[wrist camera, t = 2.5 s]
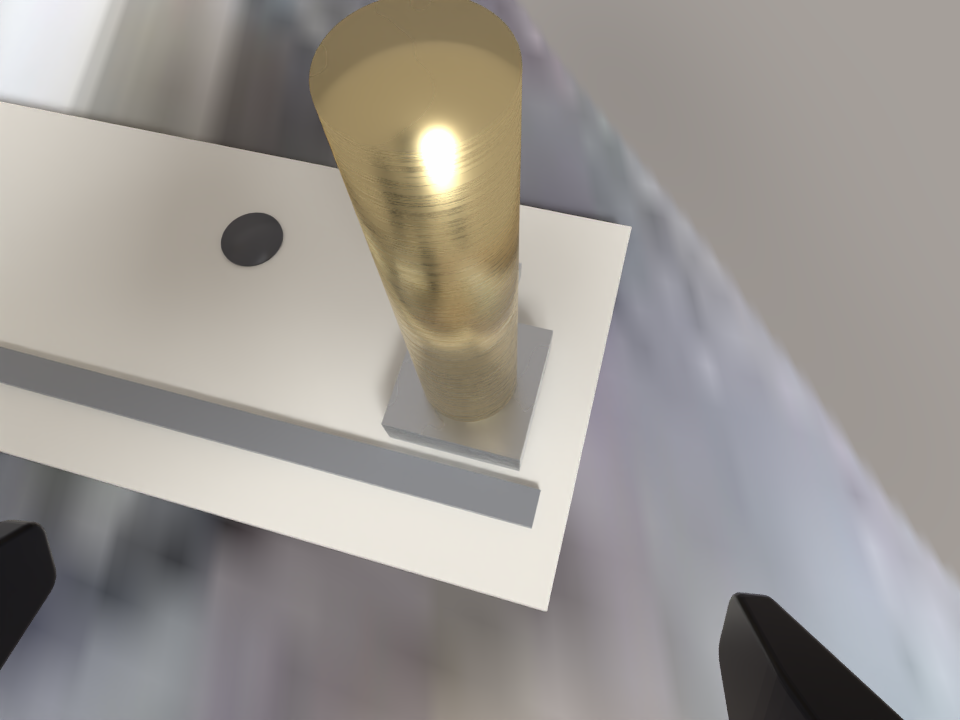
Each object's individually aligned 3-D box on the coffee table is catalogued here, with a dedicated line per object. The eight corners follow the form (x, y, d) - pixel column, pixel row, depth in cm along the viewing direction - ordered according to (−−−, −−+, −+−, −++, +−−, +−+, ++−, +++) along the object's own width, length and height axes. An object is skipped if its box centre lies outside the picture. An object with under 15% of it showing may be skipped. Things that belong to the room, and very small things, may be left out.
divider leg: (519, 471, 20) (530, 227, 8) (389, 437, 21) (208, 161, 8) (564, 294, 23) (628, -110, 10) (447, 268, 23) (371, -141, 11)
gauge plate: (544, 611, 20) (618, 584, 6) (-258, 375, 25) (-1248, 58, 11) (626, 244, 25) (767, -226, 11) (-54, 106, 30) (-548, -347, 16)
